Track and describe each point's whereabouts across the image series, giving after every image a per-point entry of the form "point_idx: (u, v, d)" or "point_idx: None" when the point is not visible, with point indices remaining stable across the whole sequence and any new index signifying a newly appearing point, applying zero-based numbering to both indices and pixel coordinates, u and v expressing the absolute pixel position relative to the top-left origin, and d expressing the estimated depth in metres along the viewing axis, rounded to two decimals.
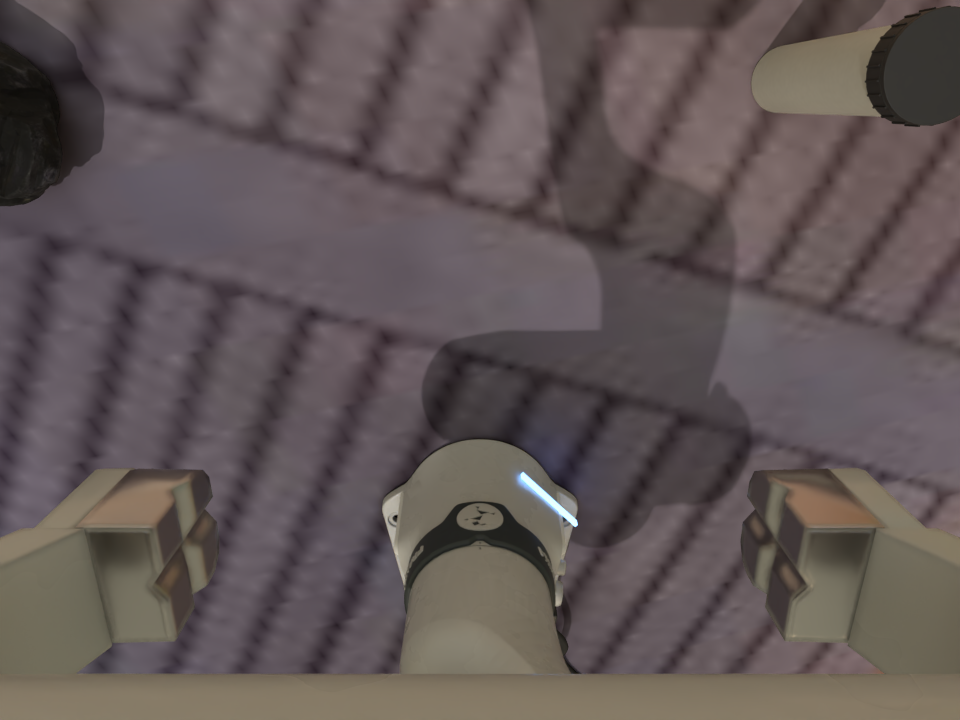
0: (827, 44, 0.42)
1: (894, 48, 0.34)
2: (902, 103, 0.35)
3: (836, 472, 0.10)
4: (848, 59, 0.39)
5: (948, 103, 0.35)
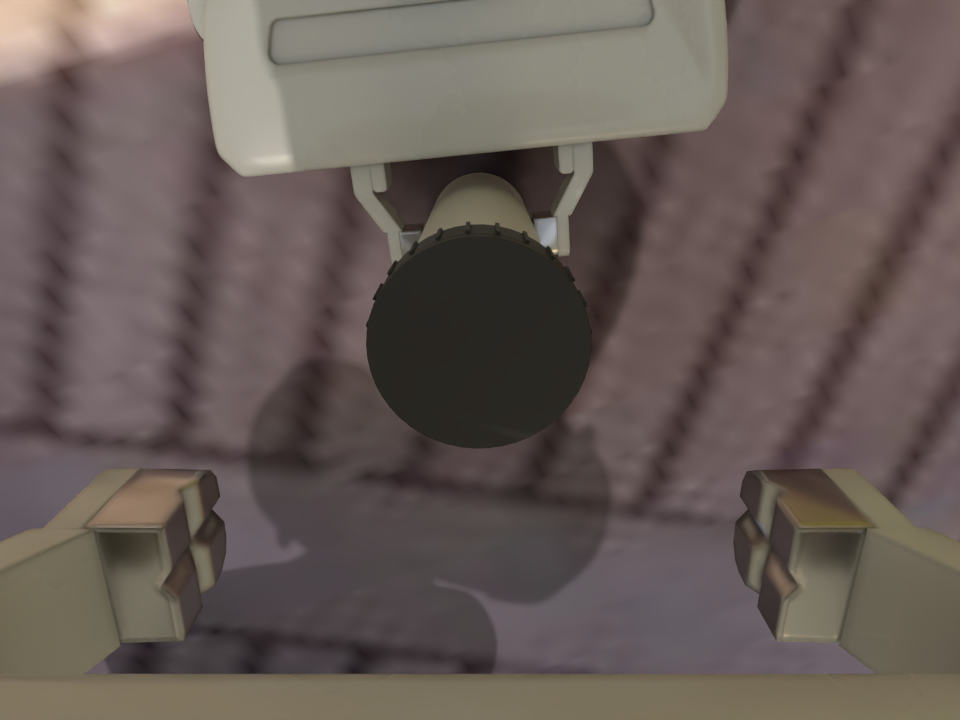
0: (427, 225, 0.25)
1: (373, 328, 0.17)
2: (430, 418, 0.17)
3: (828, 472, 0.10)
4: None
5: (522, 406, 0.17)
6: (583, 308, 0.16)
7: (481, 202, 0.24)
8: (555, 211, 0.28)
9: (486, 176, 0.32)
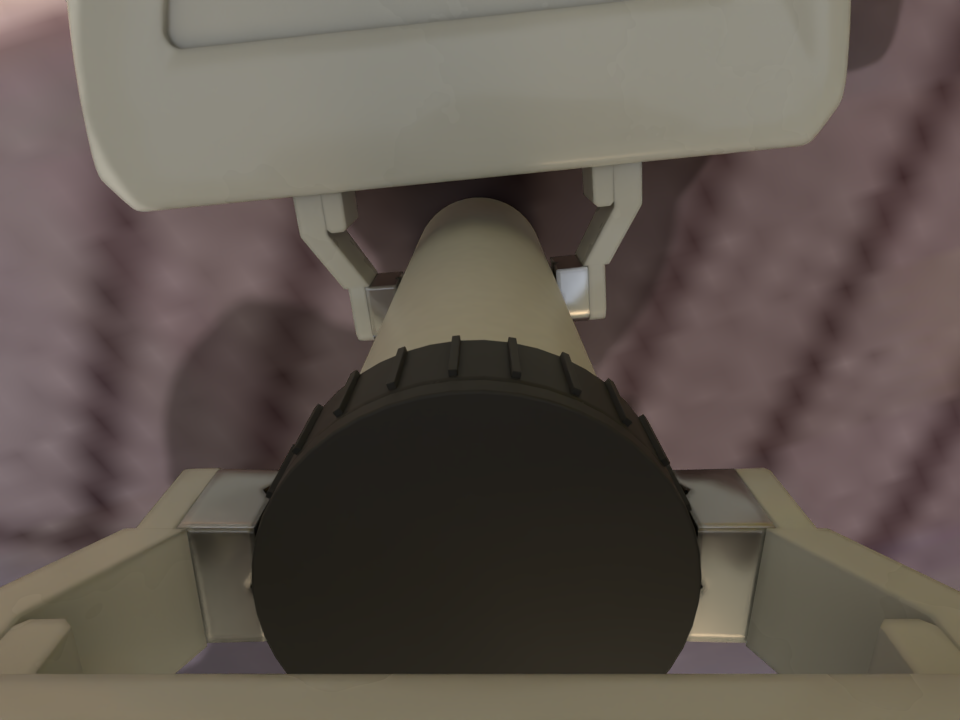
0: (399, 291, 0.16)
1: (263, 560, 0.08)
2: None
3: (741, 472, 0.10)
4: None
5: None
6: (690, 526, 0.08)
7: (481, 258, 0.15)
8: (586, 258, 0.20)
9: (488, 204, 0.24)
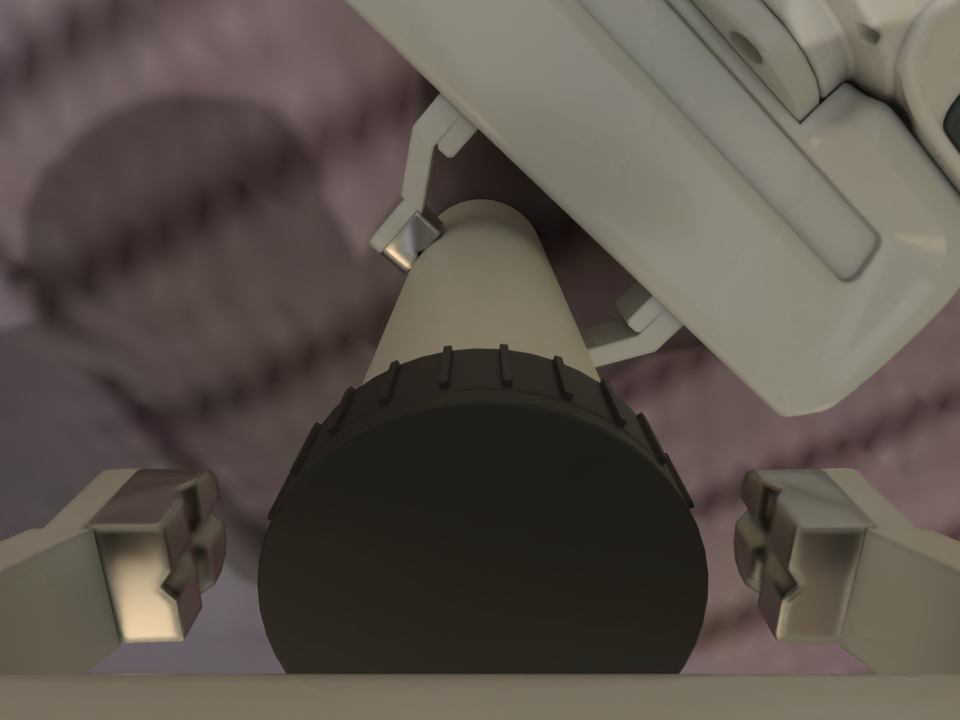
0: (473, 255, 0.16)
1: (274, 627, 0.09)
2: None
3: (828, 472, 0.10)
4: (406, 328, 0.12)
5: None
6: (663, 479, 0.08)
7: (559, 296, 0.16)
8: None
9: (536, 234, 0.24)
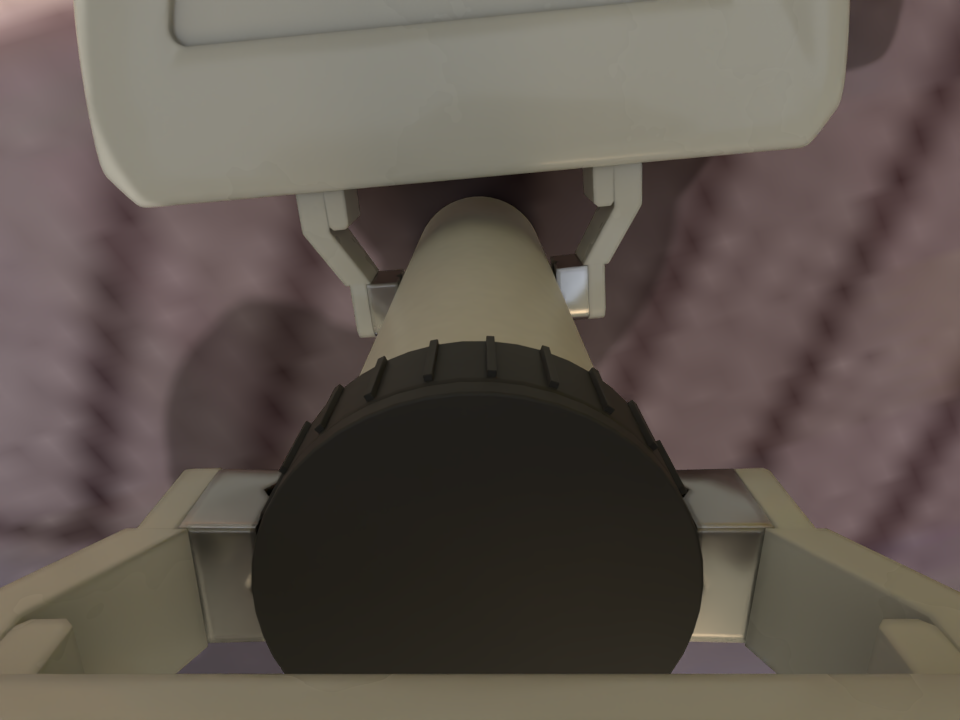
0: (401, 288, 0.17)
1: None
2: None
3: (740, 472, 0.10)
4: None
5: (632, 573, 0.08)
6: (483, 396, 0.07)
7: (483, 256, 0.16)
8: (586, 258, 0.20)
9: (489, 203, 0.24)
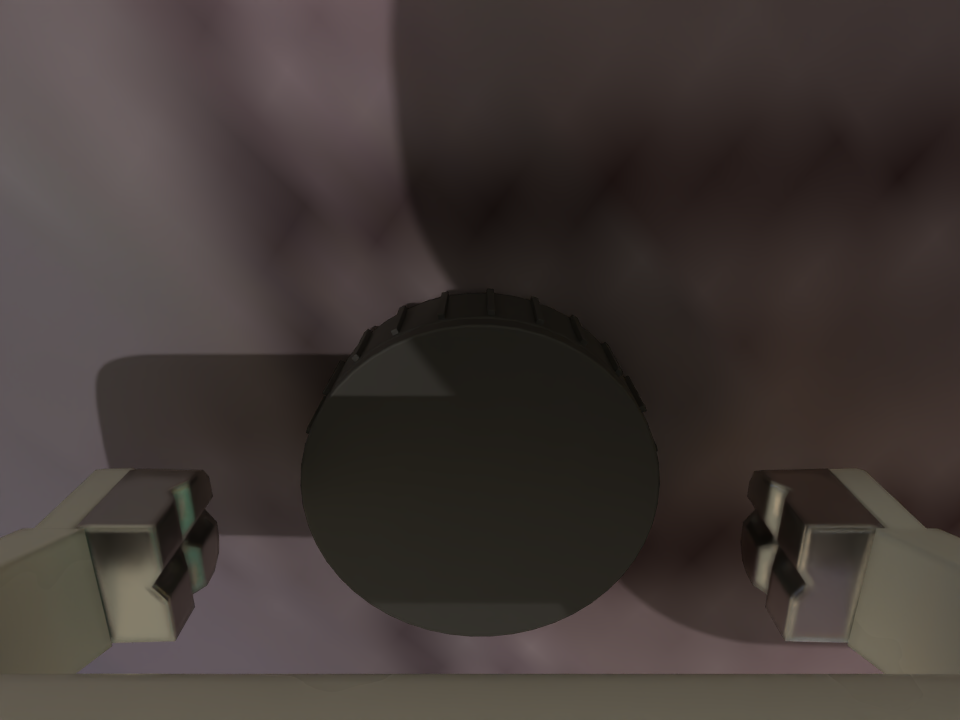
0: None
1: (388, 607, 0.11)
2: (554, 595, 0.11)
3: (836, 472, 0.10)
4: None
5: (602, 474, 0.10)
6: (484, 328, 0.10)
7: None
8: None
9: None
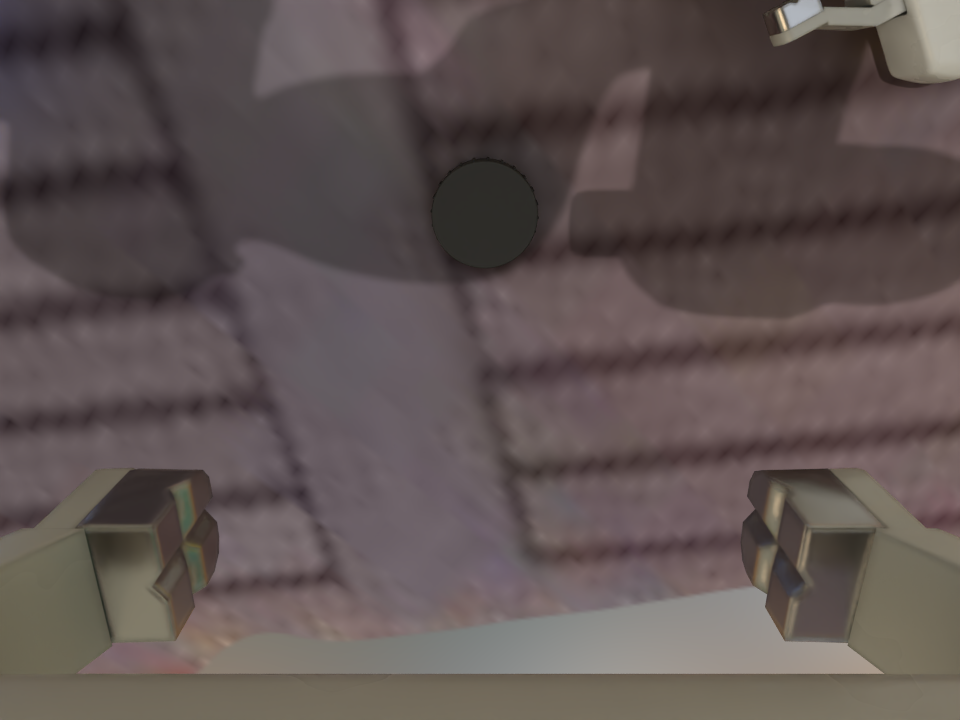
0: None
1: (455, 256, 0.36)
2: (507, 252, 0.36)
3: (836, 472, 0.10)
4: None
5: (520, 208, 0.35)
6: (486, 162, 0.35)
7: None
8: (827, 7, 0.28)
9: None
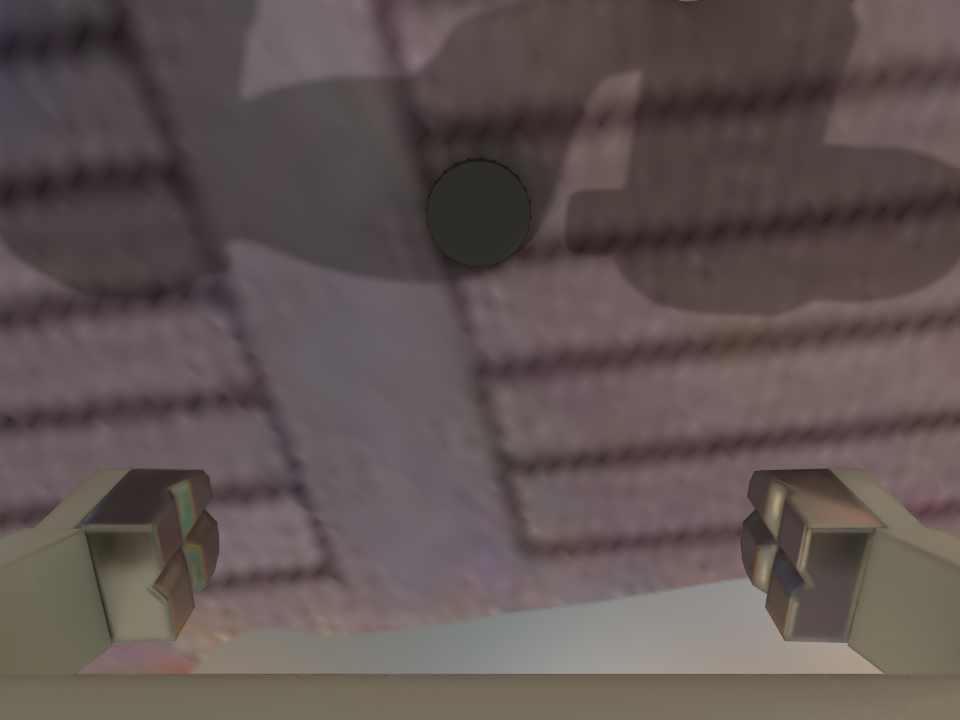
0: None
1: (450, 254, 0.37)
2: (501, 250, 0.37)
3: (835, 472, 0.10)
4: None
5: (514, 208, 0.36)
6: (480, 162, 0.35)
7: None
8: None
9: None
